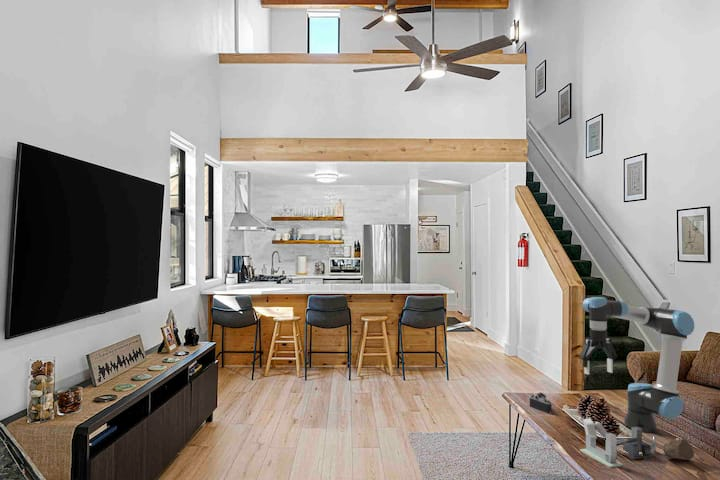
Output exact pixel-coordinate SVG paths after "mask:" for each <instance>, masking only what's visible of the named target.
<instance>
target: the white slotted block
mask: <svg viewBox="0 0 720 480" xmlns="http://www.w3.org/2000/svg"><path fill="white" fill-rule="evenodd" d="M607 433H608V434H606V440H605V449H603V448H601V447H600V446H598V445H597V439H596V437H595V436H593V435H591V434H590V435H586V434H585V448H586V450H587V451H589V452H590V453H592V454H594V455H596V456H598V457H599V458H601V459H603V460H605V461H607V462H608V463H610V464H614V463H617V461H618V460H617V444H616V440H617V435H616V434H615V433H612V432H607Z"/></svg>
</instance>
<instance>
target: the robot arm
mask: <svg viewBox="0 0 720 480" xmlns="http://www.w3.org/2000/svg"><path fill="white" fill-rule="evenodd" d="M582 308H583V310H584V311H585V312H587V313H589V328H590V329H589V337H590V339H587V338H585V339H584V344H583V347H582V349H581V351H580V354H579V359H580V360H582V367H583V374H585V375H590V360H589V359H590V358H591V356H592V355H593V353H594V352H595V351H596V350H599V349H602V351H603V352H604V353H605V354H606V356H607V357H608V358H606V372H608V373H610V374H613V373H614V371H613V369H614V368H613V367H614V360H616V358H618V355H617V352H616V350H615V348H614V345H613V342H612V341H613V340H612V338H608V331H607V329H608V317H612V318H617V319H621V320H627V321H631V322H636V324H638V325H640V326H641V325H643V326H645V327H647V328H651V329H654V330H657V331H659V335H660V336H661V337H662V341H661V347H660V355H659V362H658V370H657V375H656V376H657V377H656V383H655V384H653V385H652V384H650V383H643V382H633V383H629V384H628V386H627V412H626V415H625V418H624V419H623V420H624V421H623V422H624V423H623V425H624V424H625V425H626V426H628V427H629V428H631V427H638V428H641V429H642V433H656V432H657V431H658V424H657V423H656V420H655V416H654V415H656V416H657V415H658V416H659V417H662V418H666V419H669V420H670V419H671V420H672V419H676V418H678V417H679V416H680V415H681V414H682V412H683V410H684V402H683V400H682V398H681V397H680V392H679V390H677V385H678V384H677V383H678V377H679V371H680V370H679V369H680V365H681V356H682V355H681V354H682V351H683V350H682V348H683V342H684V341H686V340H687V339H688V336H690V335H692V333H694V330H695V321H694V319H693V317H692V315H691V314H690V313H688V312H687V311H684V310H683V311H682V310H678V309H669V308H661V307H660V308H659V307H646V306H639V307H638V306H637V307H636V306H632V305H628V304H627V303H626V302H625V301H623V300H611V299H607V298H606V297H603V296H602V297H601V296H592V297H587V298H585V299H584V300H583V301H582ZM625 425H624V426H625ZM626 426H625V427H626ZM629 428H628V429H629Z"/></svg>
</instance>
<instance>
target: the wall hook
mask: <svg viewBox="0 0 720 480" xmlns="http://www.w3.org/2000/svg"><path fill="white" fill-rule="evenodd" d="M582 423H583V426H584V432H585V436H586V435H590V434H591V435H593V436H595V437H596V440H597V439H598V436H597V432H596V431H598V433H599V434H600V435H601V437H602V436H603V437H605V438H606V434H608V433H609V432H607V429H605V427H604V426H603V424H601V422H599V421H595V422H594V421H593V420H592V418H584V419H583V418H582ZM603 437H602V438H603Z"/></svg>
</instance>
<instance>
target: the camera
mask: <svg viewBox="0 0 720 480" xmlns="http://www.w3.org/2000/svg"><path fill="white" fill-rule="evenodd" d="M552 407H553V405H552V402H551V400H550V399H548V398H547V395H546V394H544V393H543V392H542V391H540V392H538V393H536V394H532V393H531V394H530V396H529V408H532V409H535V410H536V411H540V412H543V413H545V414H549V415H550V414H552Z"/></svg>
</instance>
